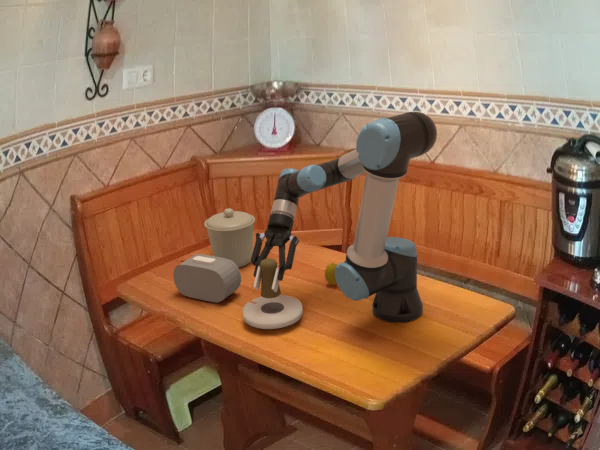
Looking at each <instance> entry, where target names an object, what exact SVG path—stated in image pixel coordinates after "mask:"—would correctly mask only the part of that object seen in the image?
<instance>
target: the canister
mask: <svg viewBox="0 0 600 450" xmlns="http://www.w3.org/2000/svg"><path fill="white" fill-rule="evenodd" d="M255 222H256V218H255V217H254V215H252V214H249V213H248V212H245V211H237V210H233V208H230V207H229V208H225V209H224V211H223V212H219V213H216V214H213V215H211V216H210V217H209V218H207V219H206V220H205V221H204V223H203V224H204V227H205V228H206V231H207V235H208V239H209V244H210V248H211V252H212V256H215V257H221V258H225V259H229V260H232V261H233V262H234V263H235V264H236V265H237V266H238V268H239V269H240V268H243V267H244V266H247V265H248V264H249V263H251V262H250V261H251V257H252V253H253V250H254V223H255Z"/></svg>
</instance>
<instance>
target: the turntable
mask: <svg viewBox="0 0 600 450" xmlns="http://www.w3.org/2000/svg"><path fill="white" fill-rule="evenodd" d="M303 312H304V311H303V304H302V302H301V301H300V300H299V299H298V298H296V297H293V296H290V295H286V294H280V295H279V296H278V297H275V298H264V297H262V296H259V297H256V298H254V299H251V300H250V301H248V302H247V303H246V304H245V305H244V306H243V308H242V317H243V321H244V322H245V323H246V324H247V325H249V326H250V327H253V328H257V329H260V330H261V329H263V330H273V329H275V330H276V329H281V328H282V329H283V328H285V327H288V326H291V325H293V324H295V323H296V322H298V321H299V320H300V319H301V318H302V316H303Z"/></svg>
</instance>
